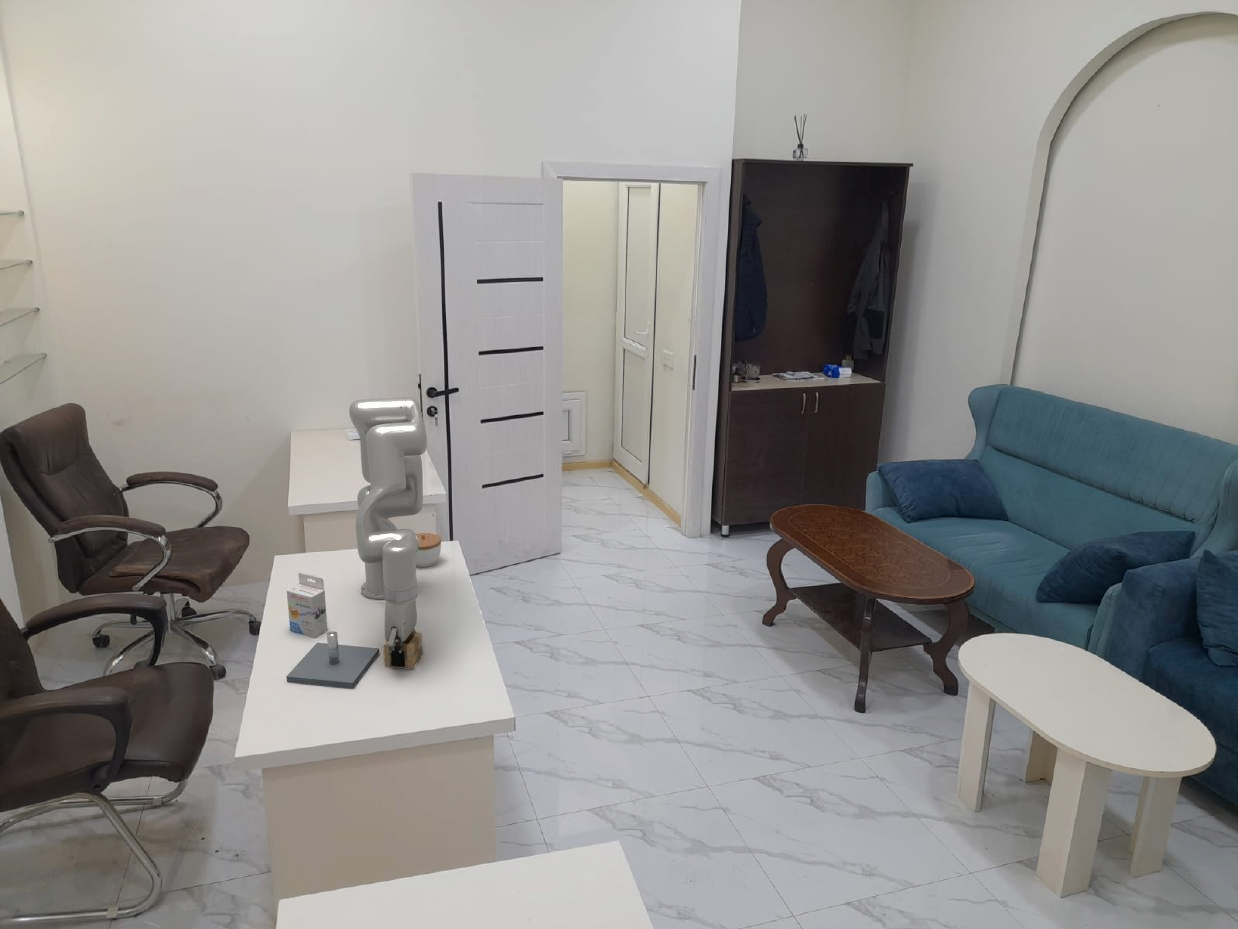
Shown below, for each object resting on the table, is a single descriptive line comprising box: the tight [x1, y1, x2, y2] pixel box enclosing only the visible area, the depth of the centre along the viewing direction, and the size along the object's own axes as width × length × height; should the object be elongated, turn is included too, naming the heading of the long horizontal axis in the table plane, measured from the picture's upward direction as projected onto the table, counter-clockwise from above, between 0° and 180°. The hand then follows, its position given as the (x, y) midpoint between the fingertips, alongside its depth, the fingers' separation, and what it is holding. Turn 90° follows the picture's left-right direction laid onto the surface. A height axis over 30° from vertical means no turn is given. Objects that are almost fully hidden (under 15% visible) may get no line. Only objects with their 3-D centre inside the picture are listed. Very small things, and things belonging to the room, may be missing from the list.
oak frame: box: [383, 631, 424, 670], centre depth 215 cm, size 7×7×6 cm
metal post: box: [326, 631, 339, 665], centre depth 211 cm, size 2×2×8 cm
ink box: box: [286, 572, 328, 639], centre depth 227 cm, size 8×5×15 cm, turn 67°
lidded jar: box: [415, 532, 442, 568], centre depth 269 cm, size 11×11×9 cm
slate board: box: [285, 642, 380, 689], centre depth 212 cm, size 16×16×2 cm
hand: (403, 657), depth 216 cm, fingers closed on oak frame, 7 cm apart
